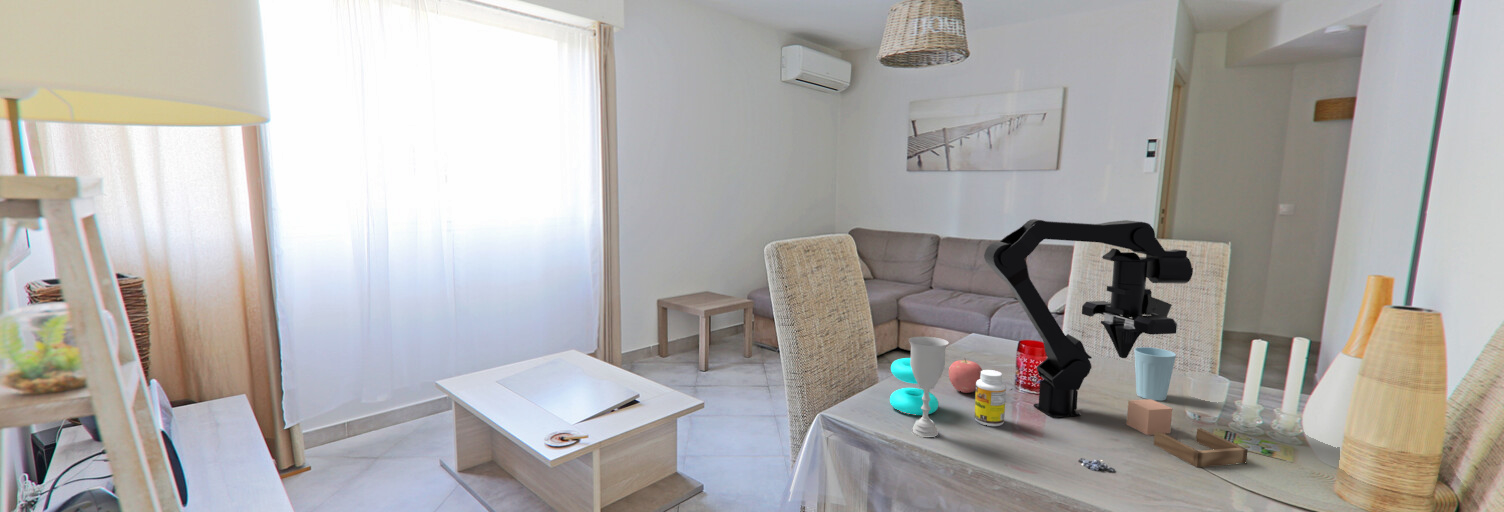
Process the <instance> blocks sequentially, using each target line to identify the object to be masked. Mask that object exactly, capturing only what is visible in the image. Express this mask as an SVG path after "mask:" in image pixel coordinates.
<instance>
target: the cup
mask: <svg viewBox="0 0 1504 512" xmlns="http://www.w3.org/2000/svg"><path fill="white" fill-rule="evenodd" d="M1133 351H1134V366H1135V367H1134V370H1135V390H1136V395H1137V396H1138V397H1140V398H1142V399H1144V400H1146V399H1152V400H1154V401H1156V402H1158V401H1162V402H1163V401H1165V400H1167V397H1168V392H1169V389H1170V384H1171V379H1172V374H1173V370H1174V366H1175V362H1176V358H1177V354H1176V353H1175V352H1174V351H1171V350H1168V349H1167V350H1166V349H1164V348H1158V347H1147V346H1140V347H1135V348H1134V350H1133Z"/></svg>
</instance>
